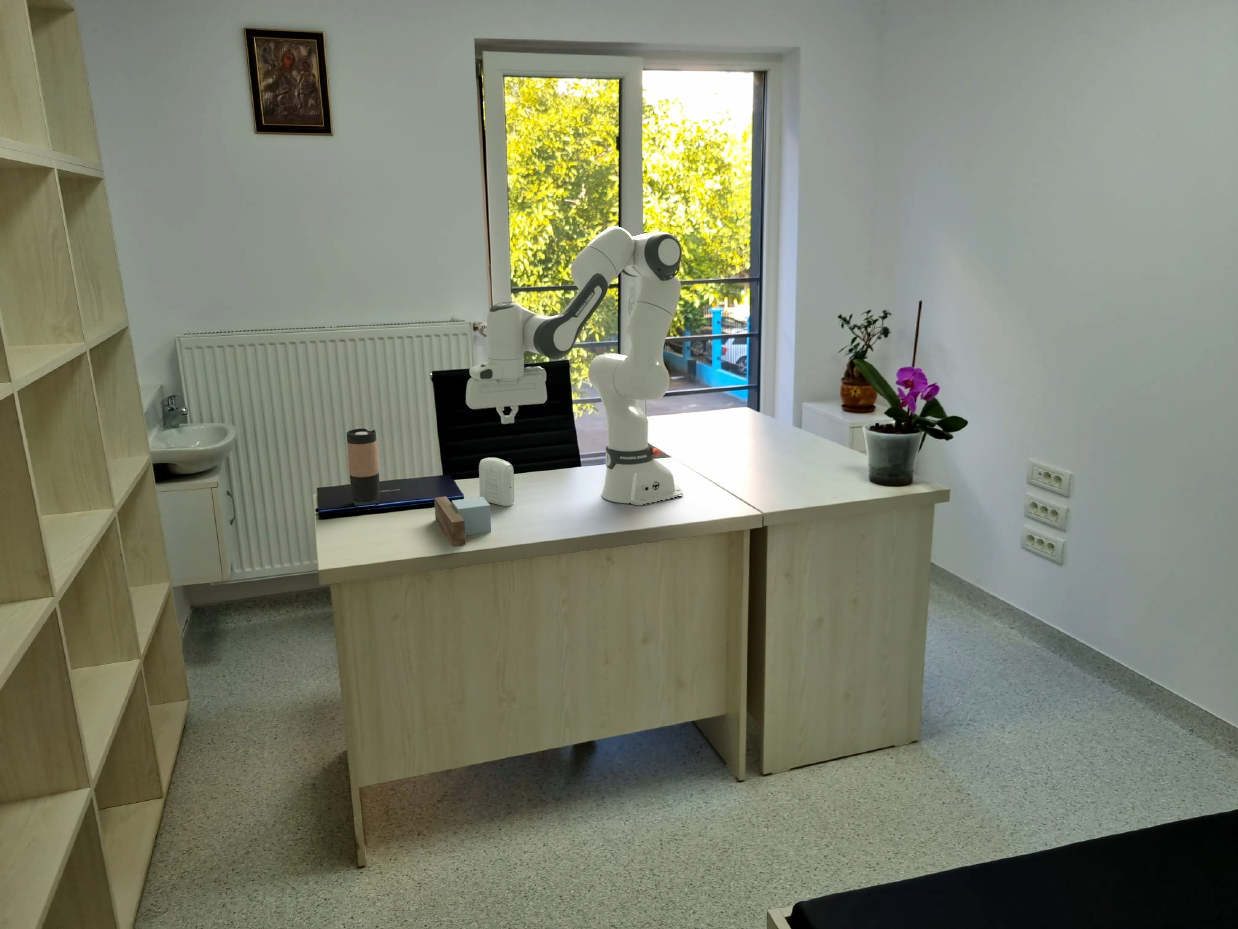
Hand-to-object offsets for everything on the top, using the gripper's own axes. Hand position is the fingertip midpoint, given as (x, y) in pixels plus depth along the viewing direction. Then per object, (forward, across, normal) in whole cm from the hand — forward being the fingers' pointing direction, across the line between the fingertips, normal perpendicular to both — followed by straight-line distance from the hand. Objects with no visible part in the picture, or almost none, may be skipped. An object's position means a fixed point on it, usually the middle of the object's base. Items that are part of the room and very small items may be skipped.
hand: (507, 423), depth 237 cm
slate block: (+25, +12, +5) cm, 28 cm away
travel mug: (+25, +33, -25) cm, 49 cm away
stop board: (+25, +17, +5) cm, 31 cm away
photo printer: (+25, 0, -13) cm, 28 cm away
